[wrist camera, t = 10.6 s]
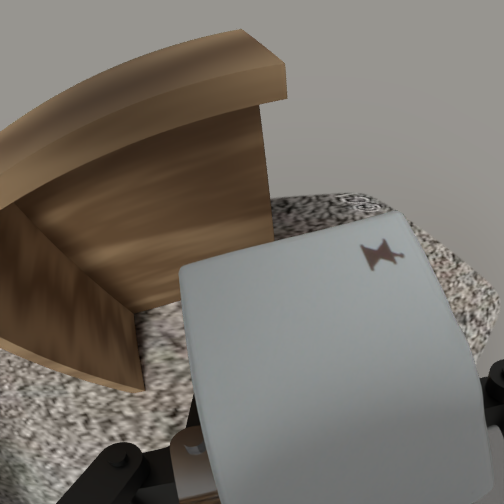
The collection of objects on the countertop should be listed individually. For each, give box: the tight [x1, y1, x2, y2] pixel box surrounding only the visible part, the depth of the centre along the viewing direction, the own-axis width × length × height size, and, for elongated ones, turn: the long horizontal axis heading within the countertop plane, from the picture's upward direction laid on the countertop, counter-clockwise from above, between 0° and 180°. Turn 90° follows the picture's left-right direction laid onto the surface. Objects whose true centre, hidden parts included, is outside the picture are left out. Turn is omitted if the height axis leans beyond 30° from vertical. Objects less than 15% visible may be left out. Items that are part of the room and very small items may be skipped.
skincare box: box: [179, 210, 495, 504], centre depth 8 cm, size 6×4×12 cm
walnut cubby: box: [0, 29, 287, 393], centre depth 18 cm, size 10×18×23 cm, turn 106°
